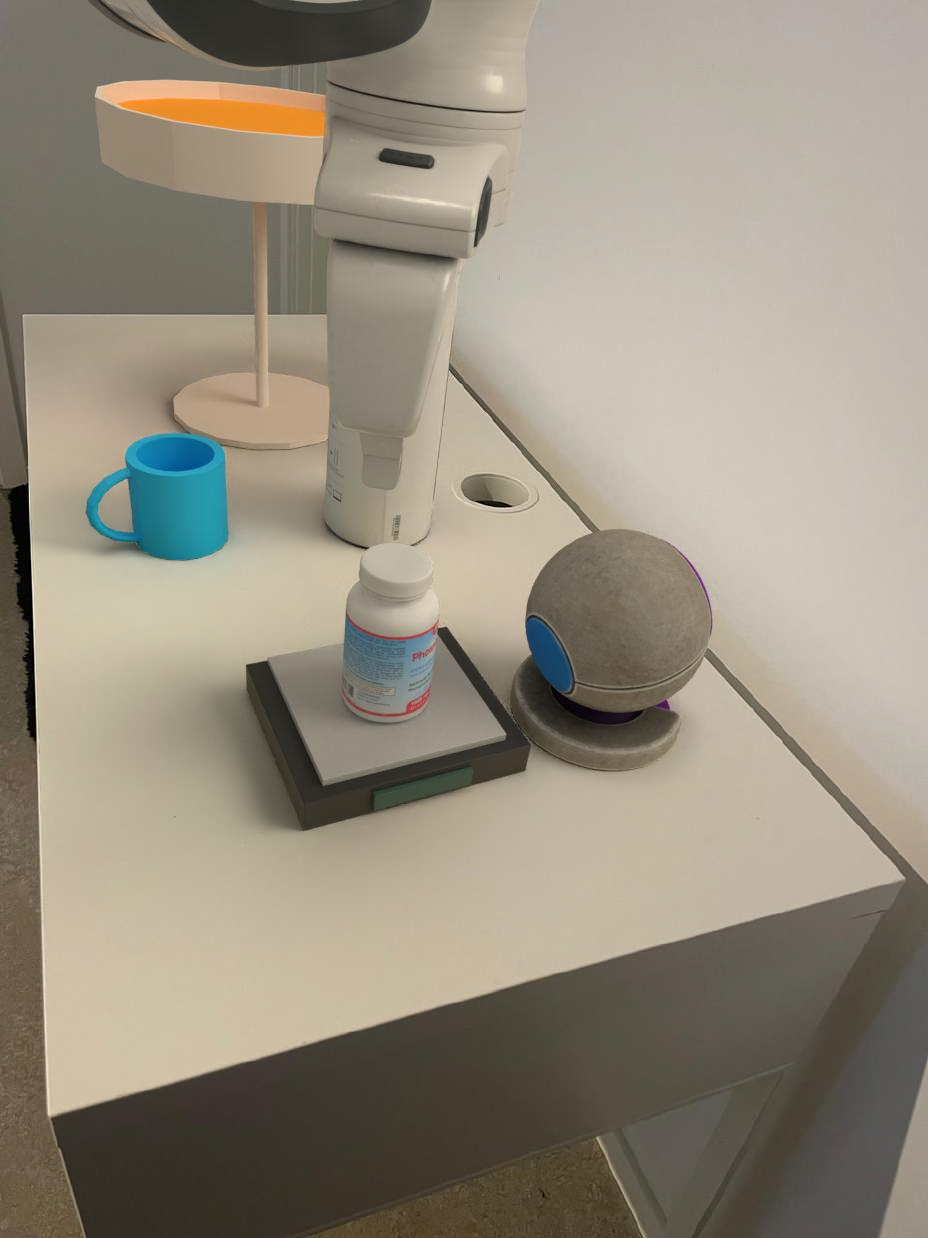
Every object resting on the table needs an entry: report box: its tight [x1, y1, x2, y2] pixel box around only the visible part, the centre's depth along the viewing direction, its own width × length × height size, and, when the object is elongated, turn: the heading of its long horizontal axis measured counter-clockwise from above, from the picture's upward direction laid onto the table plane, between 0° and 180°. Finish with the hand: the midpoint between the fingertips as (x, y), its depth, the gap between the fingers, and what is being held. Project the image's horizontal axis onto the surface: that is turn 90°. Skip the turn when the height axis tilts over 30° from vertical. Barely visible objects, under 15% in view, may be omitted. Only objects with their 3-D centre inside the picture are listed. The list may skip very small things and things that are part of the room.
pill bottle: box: [342, 543, 441, 723], centre depth 59 cm, size 6×6×11 cm
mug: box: [85, 432, 229, 561], centre depth 78 cm, size 12×8×8 cm
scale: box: [245, 626, 532, 831], centre depth 64 cm, size 16×14×3 cm
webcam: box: [509, 528, 713, 771], centre depth 65 cm, size 13×13×15 cm
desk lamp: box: [94, 79, 330, 451], centre depth 96 cm, size 30×30×31 cm
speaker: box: [324, 273, 461, 549], centre depth 80 cm, size 11×10×26 cm
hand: (393, 443), depth 49 cm, fingers open, 8 cm apart
